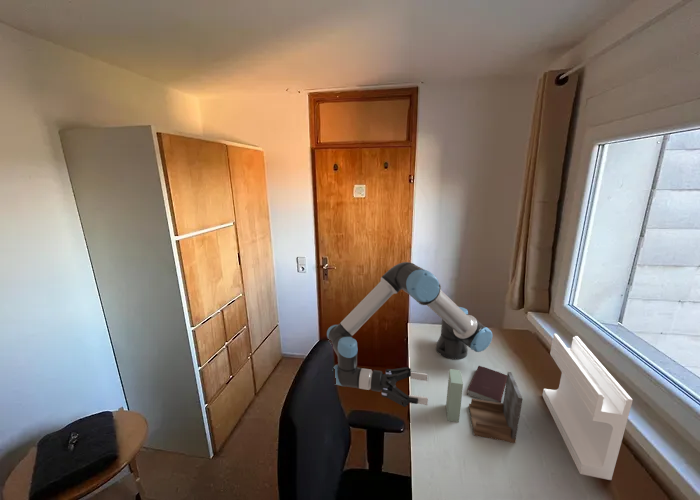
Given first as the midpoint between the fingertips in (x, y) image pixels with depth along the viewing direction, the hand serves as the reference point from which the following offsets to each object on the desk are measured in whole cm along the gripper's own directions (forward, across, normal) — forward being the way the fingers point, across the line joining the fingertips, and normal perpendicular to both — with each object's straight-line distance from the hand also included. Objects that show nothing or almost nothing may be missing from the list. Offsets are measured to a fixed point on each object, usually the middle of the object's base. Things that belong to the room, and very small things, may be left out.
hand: (427, 388), depth 118 cm
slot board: (+23, +2, -9) cm, 24 cm away
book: (+25, -19, -10) cm, 33 cm away
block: (+50, -1, -9) cm, 51 cm away
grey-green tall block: (+10, 0, -9) cm, 13 cm away
